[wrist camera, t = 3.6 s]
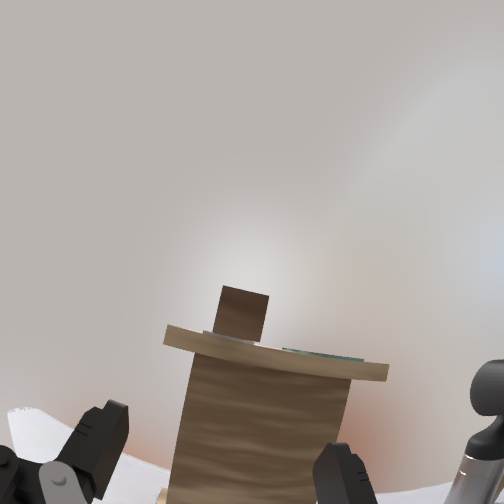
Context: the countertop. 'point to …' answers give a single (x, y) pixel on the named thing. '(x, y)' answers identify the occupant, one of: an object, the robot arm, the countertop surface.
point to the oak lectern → (256, 419)
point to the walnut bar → (240, 314)
